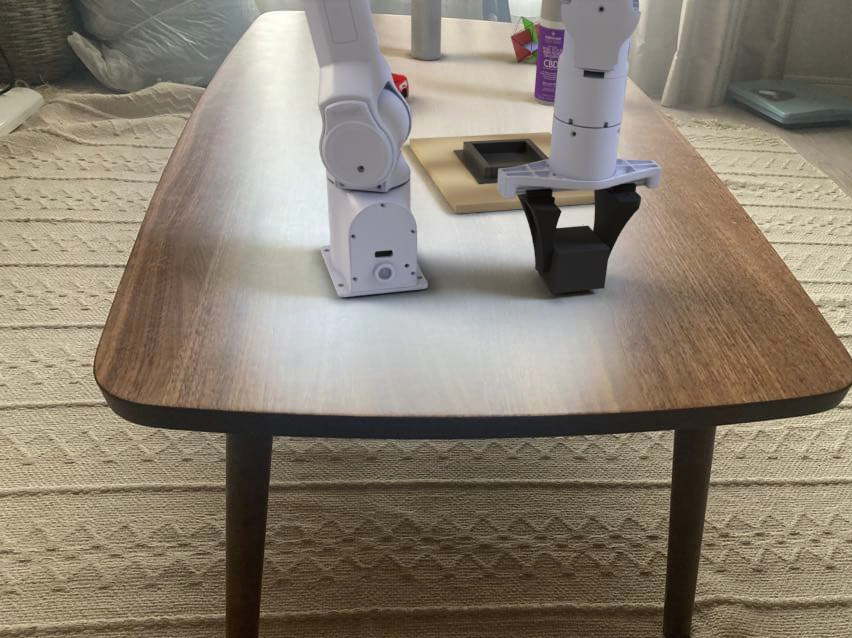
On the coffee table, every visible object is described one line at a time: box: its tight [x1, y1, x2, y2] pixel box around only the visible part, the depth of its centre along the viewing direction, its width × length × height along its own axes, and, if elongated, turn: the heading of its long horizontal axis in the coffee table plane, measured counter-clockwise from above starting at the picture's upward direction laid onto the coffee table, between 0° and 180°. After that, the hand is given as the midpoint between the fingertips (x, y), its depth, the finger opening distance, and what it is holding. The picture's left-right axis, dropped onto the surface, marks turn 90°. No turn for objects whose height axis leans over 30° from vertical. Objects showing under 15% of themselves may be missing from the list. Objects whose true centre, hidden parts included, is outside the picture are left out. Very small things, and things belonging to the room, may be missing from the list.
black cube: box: [534, 225, 610, 294], centre depth 85 cm, size 5×5×4 cm
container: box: [533, 0, 565, 107], centre depth 127 cm, size 5×5×15 cm
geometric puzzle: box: [509, 15, 540, 65], centre depth 145 cm, size 7×7×8 cm
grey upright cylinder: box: [410, 0, 443, 61], centre depth 142 cm, size 4×4×10 cm
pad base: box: [409, 131, 595, 215], centre depth 107 cm, size 20×18×2 cm
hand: (571, 264), depth 85 cm, fingers closed on black cube, 5 cm apart
